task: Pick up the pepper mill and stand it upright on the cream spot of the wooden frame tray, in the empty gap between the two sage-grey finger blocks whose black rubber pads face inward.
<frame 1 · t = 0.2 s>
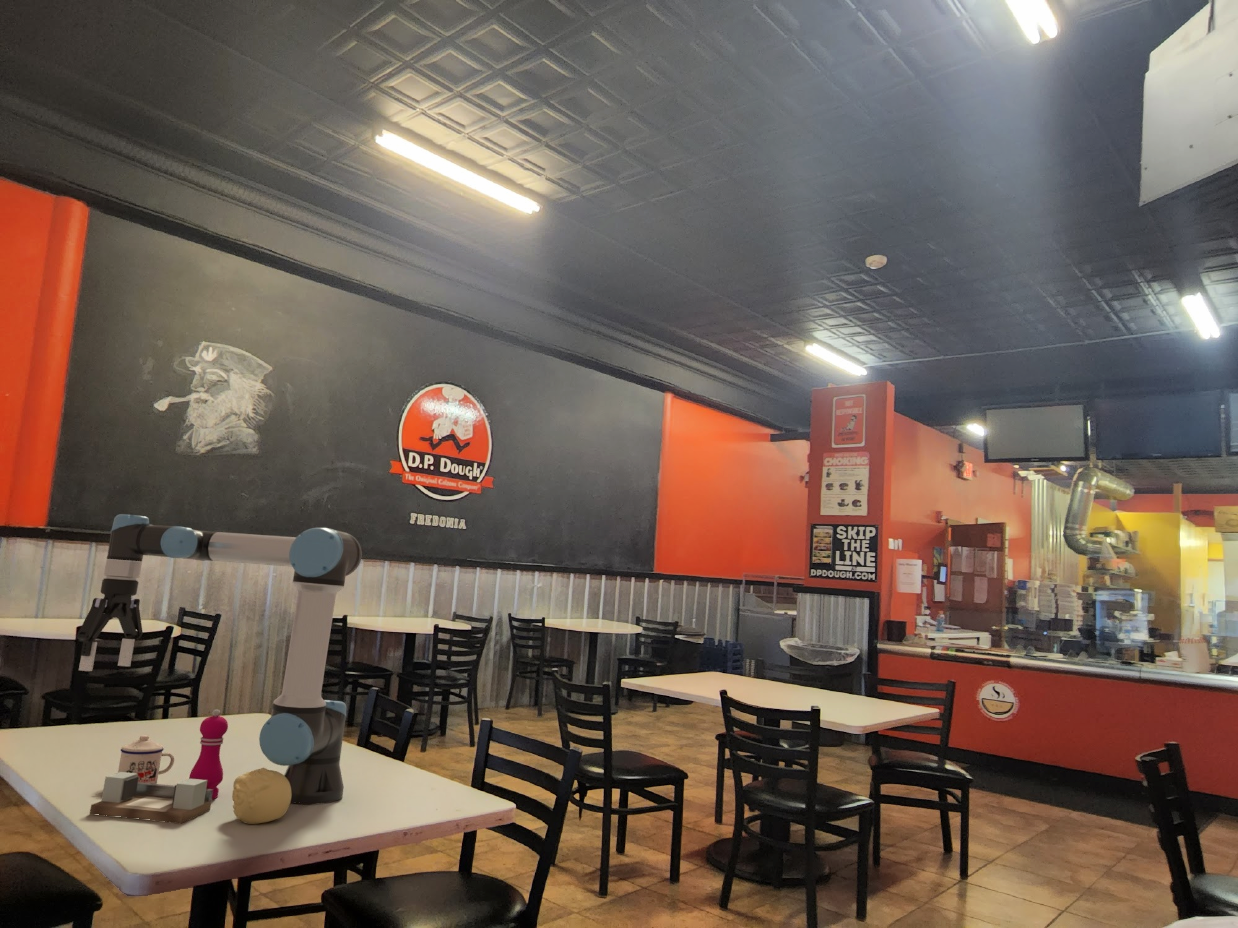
hand: (105, 668, 191), 28 cm above the table, tool pointing down, fingers open, 13 cm apart
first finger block: (189, 793, 174), on the wooden frame tray, point 4 cm above the table
teacup with lid: (142, 785, 195), on the table
sculpture: (258, 820, 175), on the table
wooden frame tray: (151, 812, 174), on the table
pepper mill: (202, 797, 189), on the table
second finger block: (121, 787, 175), on the wooden frame tray, point 4 cm above the table
steel rail bar: (167, 791, 180), on the wooden frame tray, point 3 cm above the table
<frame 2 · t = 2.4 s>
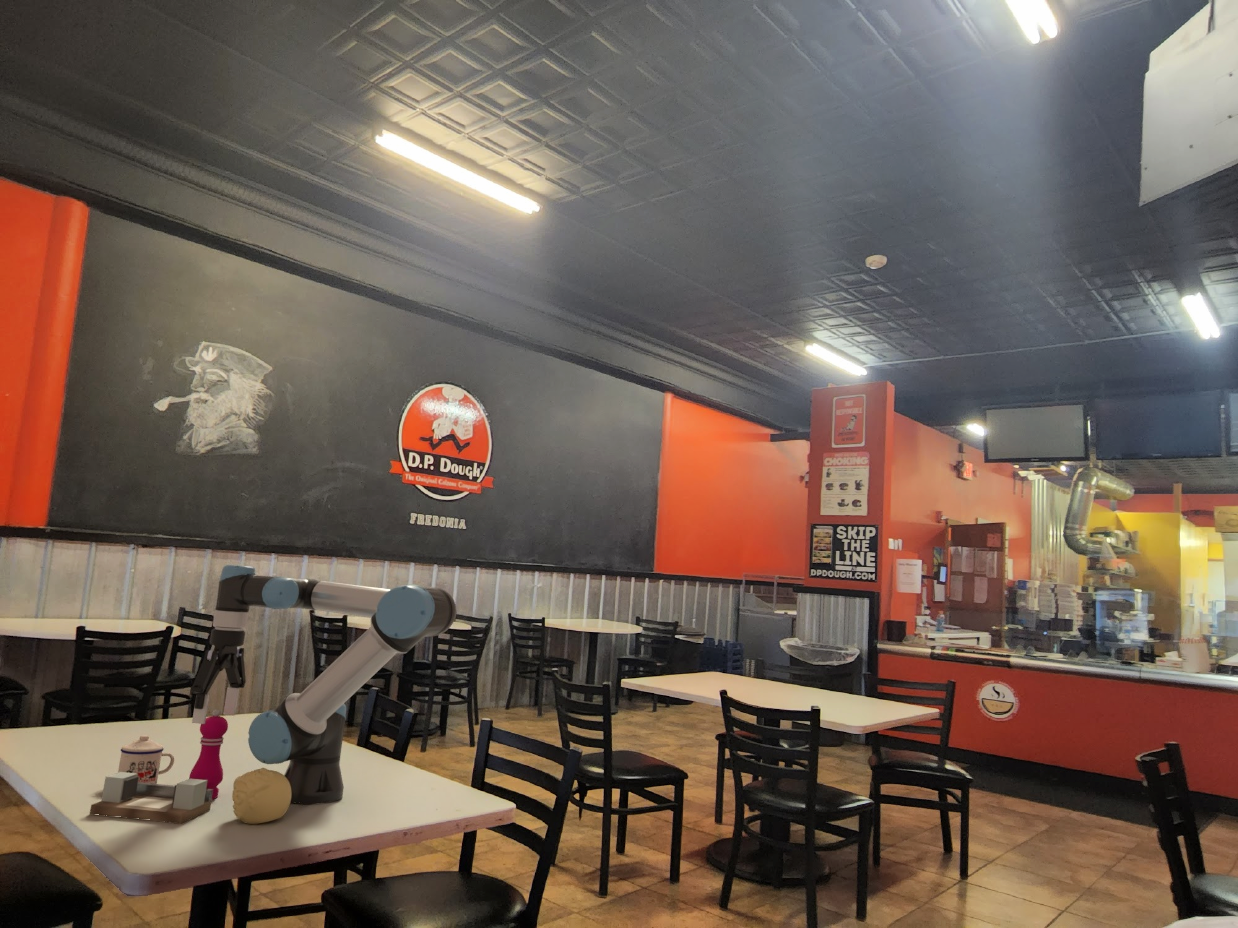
hand: (214, 718, 192), 18 cm above the table, tool pointing down, fingers open, 13 cm apart
nothing on the table moved.
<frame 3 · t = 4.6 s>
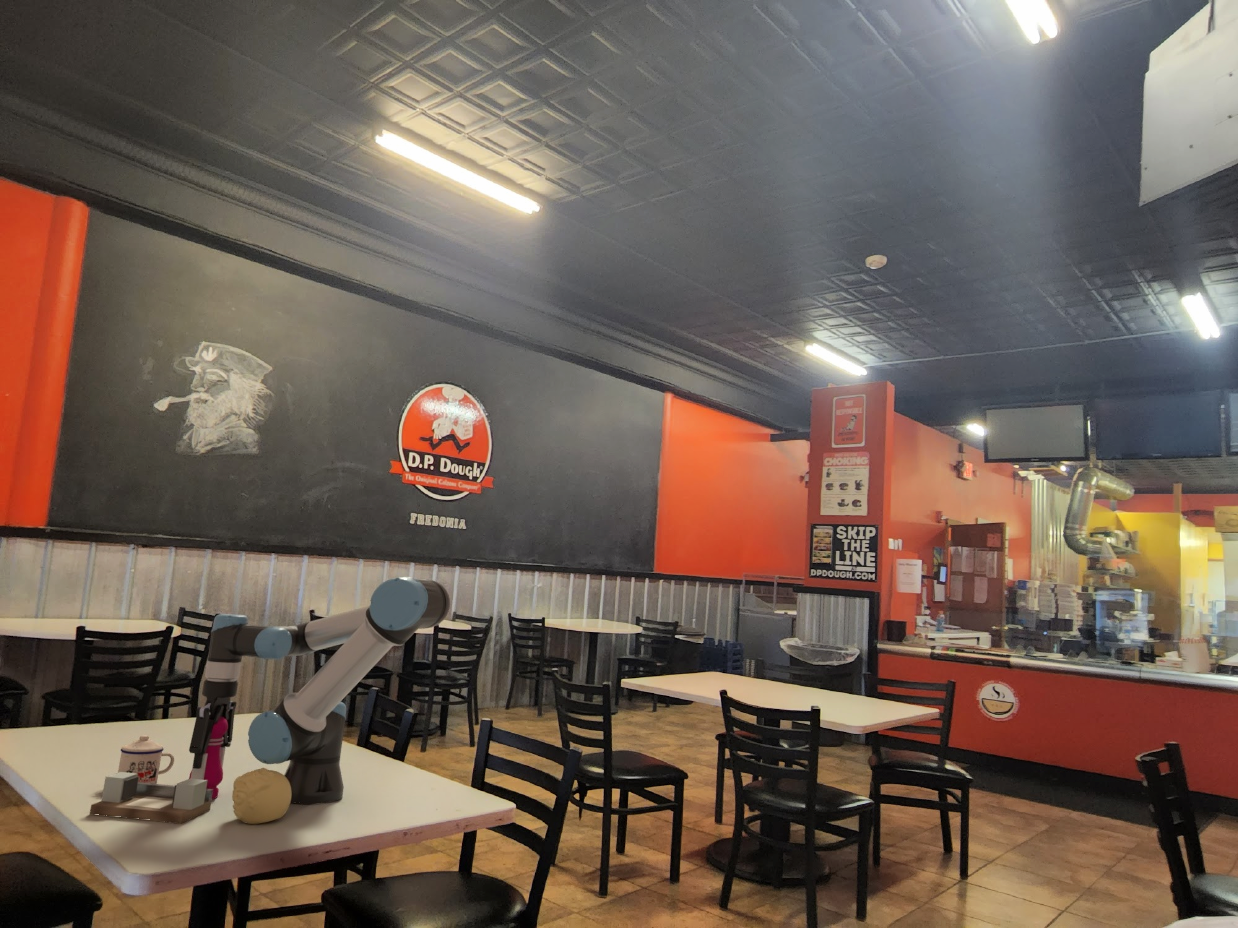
hand: (205, 778, 189), 4 cm above the table, tool pointing down, fingers closed on pepper mill, 7 cm apart
pepper mill: (202, 797, 189), on the table, touching gripper
everything else where it was.
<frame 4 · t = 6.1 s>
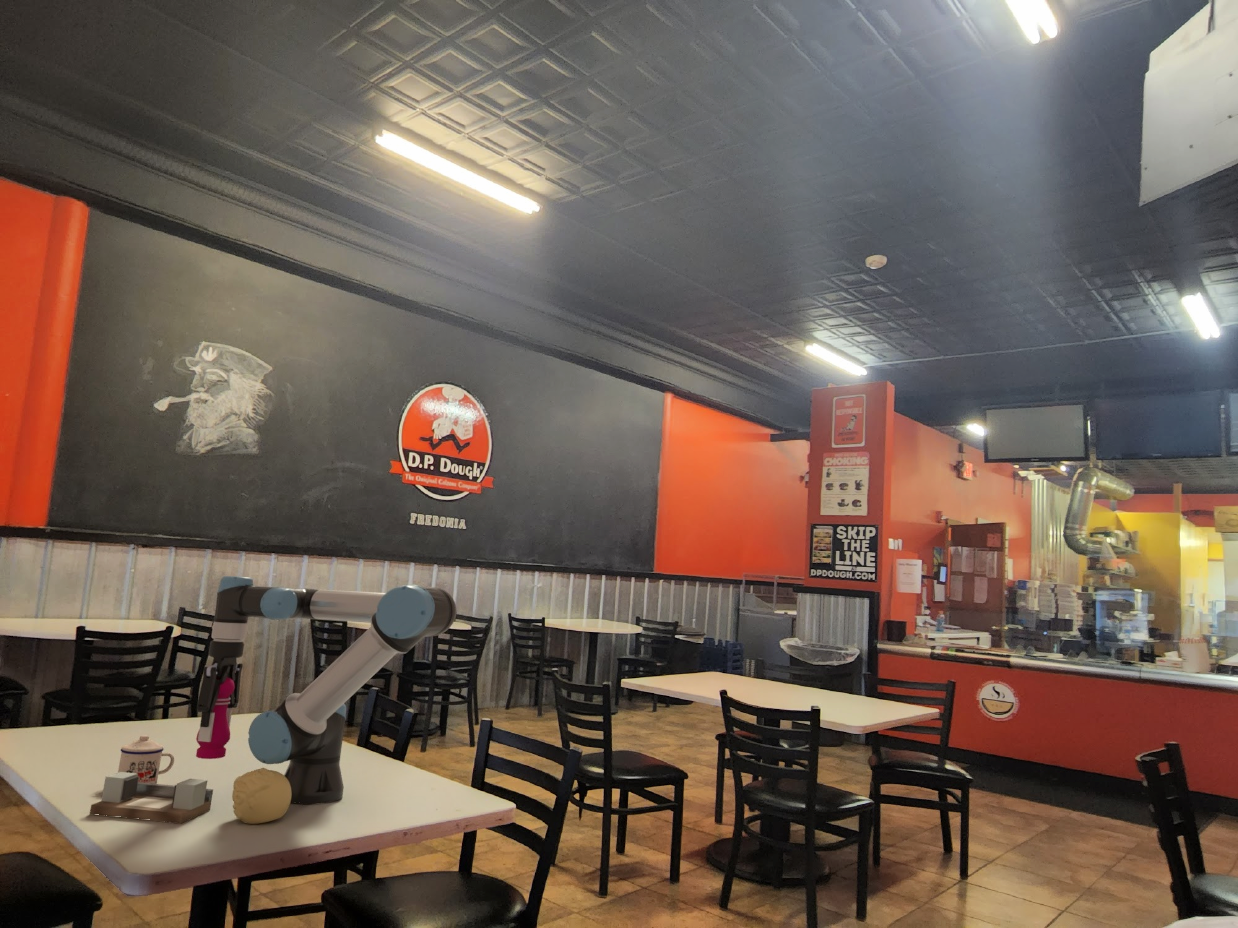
hand: (213, 738, 191), 13 cm above the table, tool pointing down, fingers closed on pepper mill, 7 cm apart
pepper mill: (210, 757, 190), point 9 cm above the table, touching gripper
everything else where it was.
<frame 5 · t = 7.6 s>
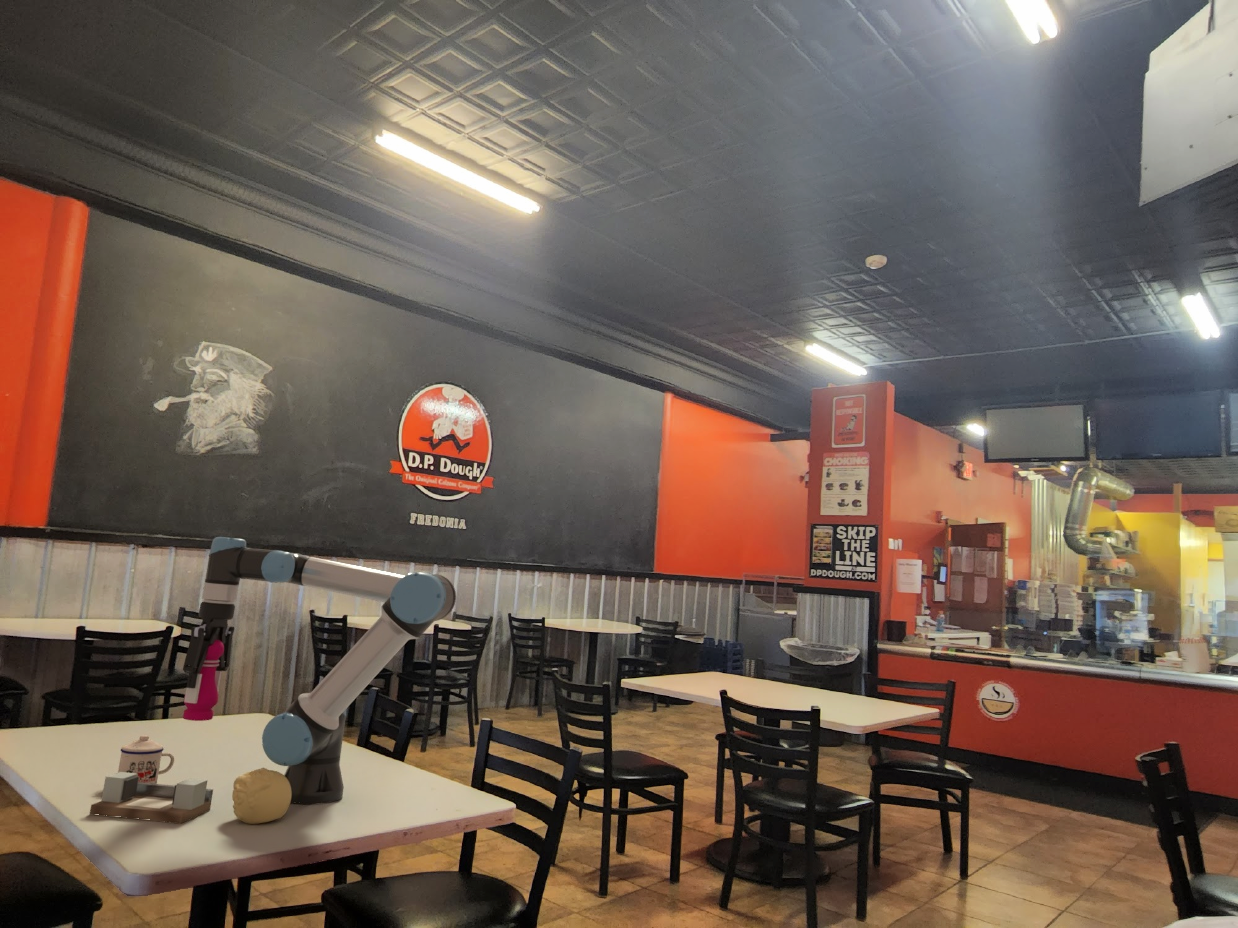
hand: (200, 700, 188), 22 cm above the table, tool pointing down, fingers closed on pepper mill, 7 cm apart
pepper mill: (197, 719, 187), point 18 cm above the table, touching gripper
everything else where it was.
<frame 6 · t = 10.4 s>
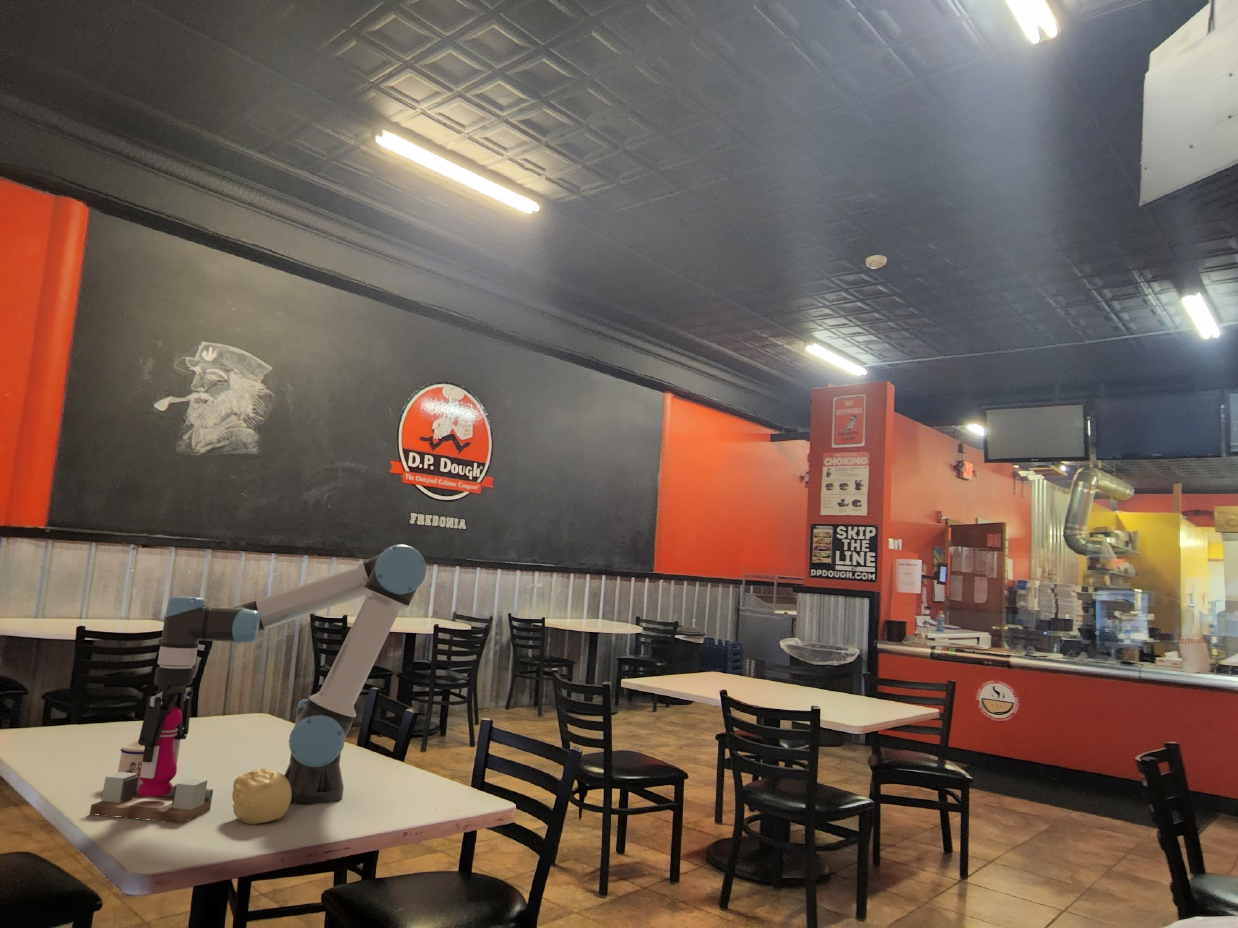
hand: (158, 773, 175), 8 cm above the table, tool pointing down, fingers closed on pepper mill, 7 cm apart
pepper mill: (154, 793, 175), point 4 cm above the table, touching gripper
everything else where it was.
when the fingers open (8 cm above the table, at t = 11.0 s): pepper mill drops 2 cm, resting on wooden frame tray.
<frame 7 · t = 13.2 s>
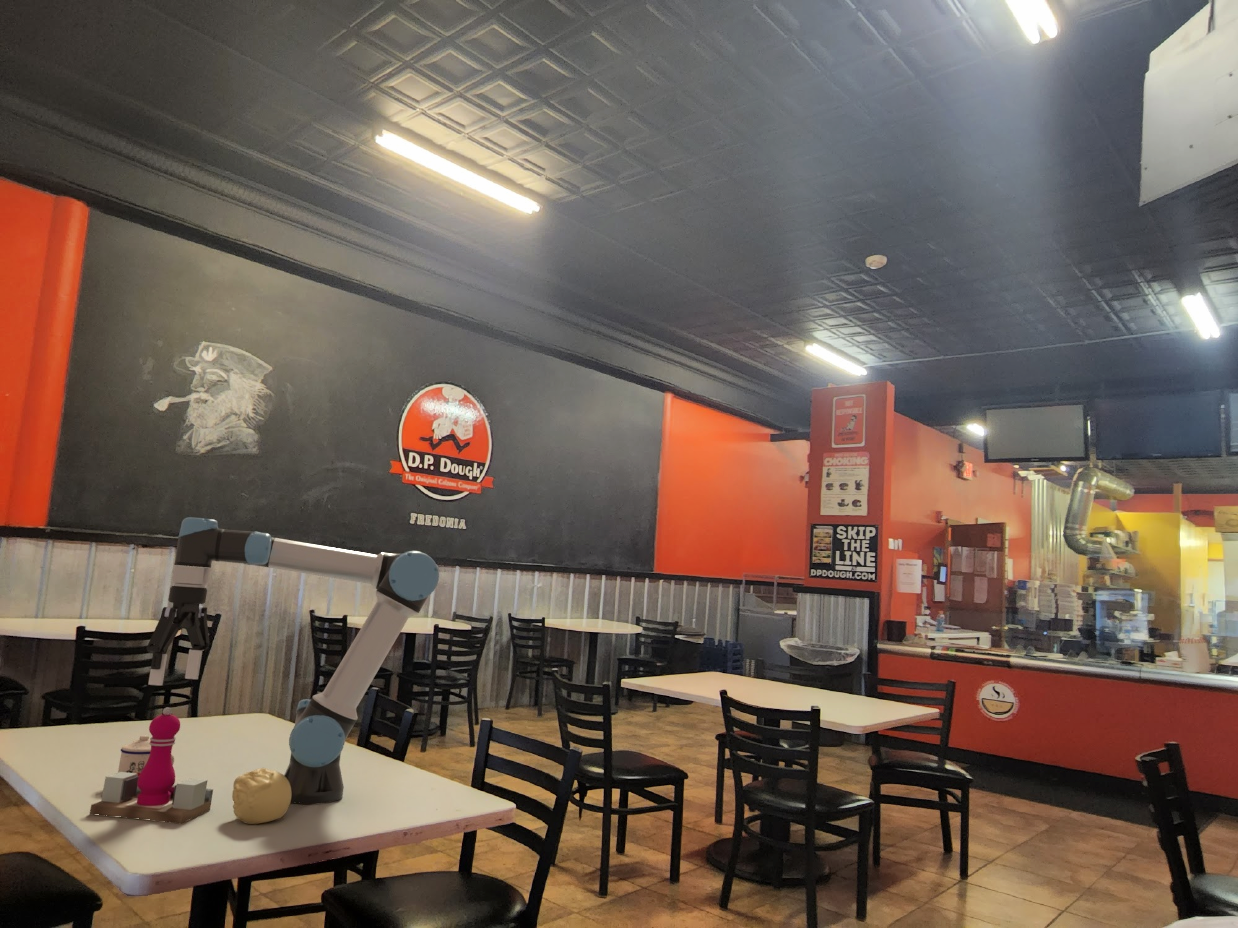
hand: (174, 681, 179), 28 cm above the table, tool pointing down, fingers open, 13 cm apart
pepper mill: (153, 802, 174), point 2 cm above the table, touching wooden frame tray
everything else where it was.
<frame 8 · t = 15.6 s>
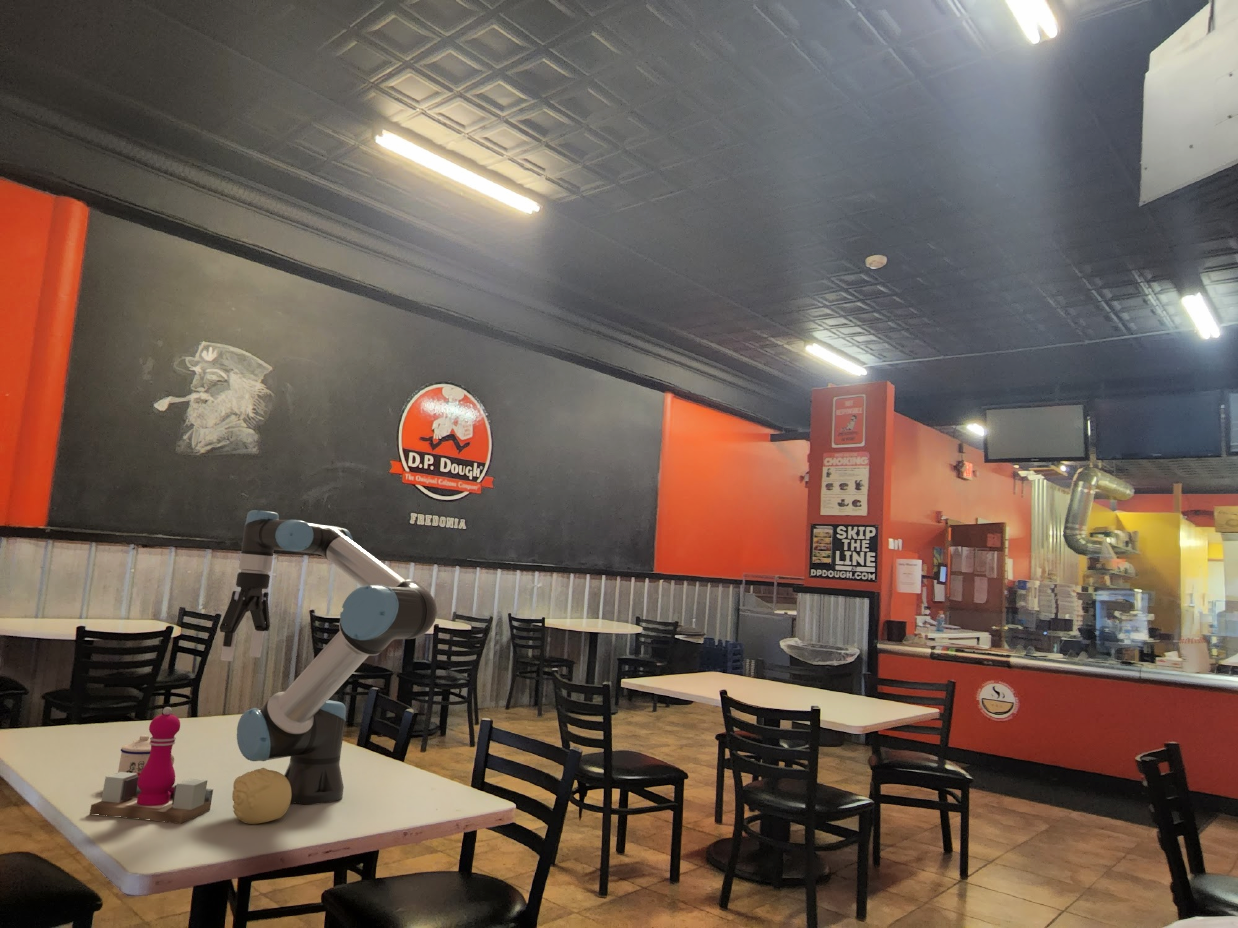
hand: (241, 658, 198), 32 cm above the table, tool pointing down, fingers open, 13 cm apart
nothing on the table moved.
at the end: pepper mill 0.0 cm off-centre on the wooden frame tray, point 1.9 cm above the wooden frame tray's base; pepper mill tilted 1°; the gripper is holding nothing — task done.
